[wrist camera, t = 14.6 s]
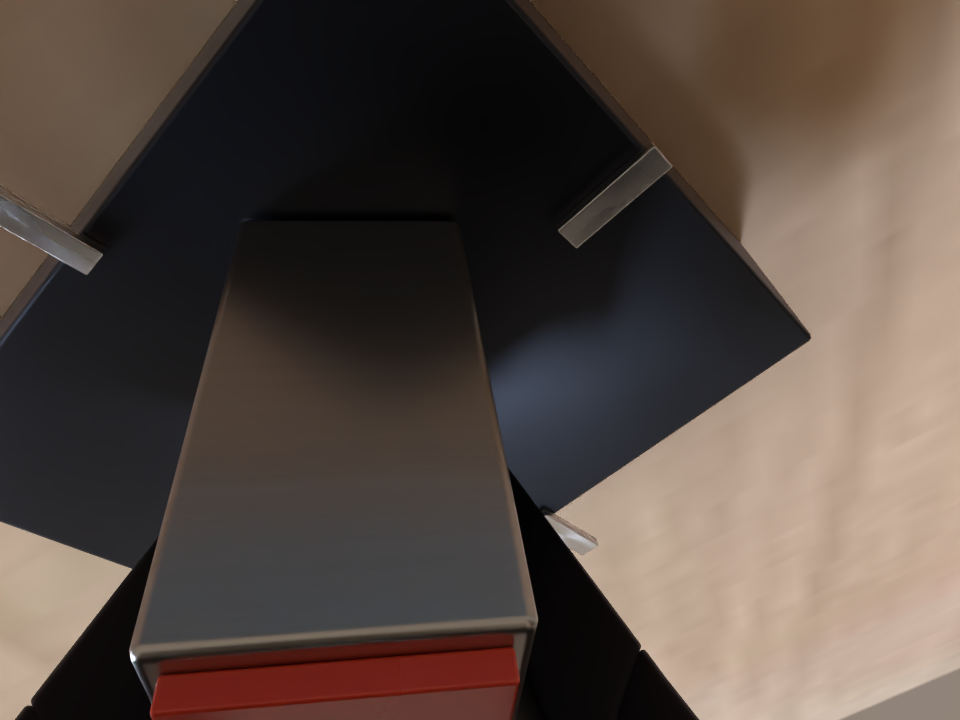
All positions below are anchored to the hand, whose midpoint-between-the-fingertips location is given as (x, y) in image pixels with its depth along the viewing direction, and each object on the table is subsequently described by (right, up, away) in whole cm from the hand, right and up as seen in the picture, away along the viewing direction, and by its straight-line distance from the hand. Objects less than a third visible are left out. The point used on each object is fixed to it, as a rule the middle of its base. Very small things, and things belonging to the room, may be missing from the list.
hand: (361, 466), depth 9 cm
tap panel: (0, +2, +3) cm, 4 cm away
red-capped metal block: (0, +1, +1) cm, 1 cm away
